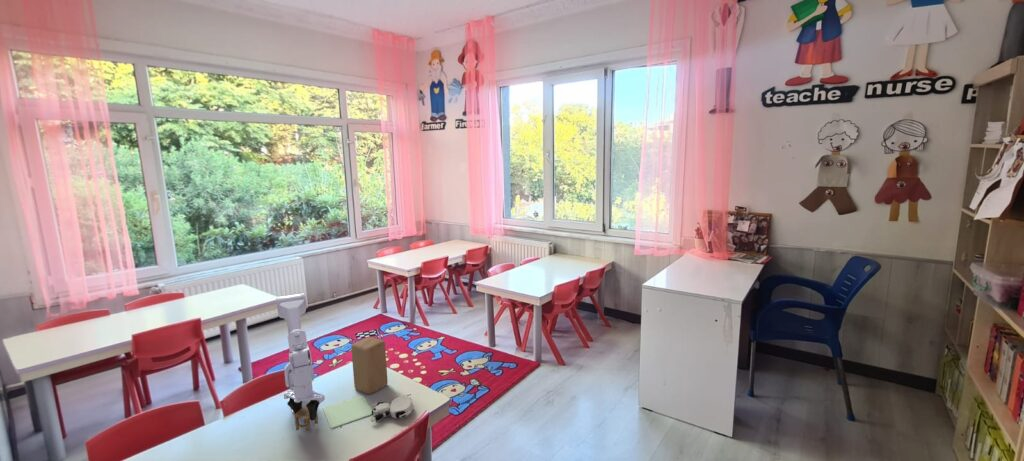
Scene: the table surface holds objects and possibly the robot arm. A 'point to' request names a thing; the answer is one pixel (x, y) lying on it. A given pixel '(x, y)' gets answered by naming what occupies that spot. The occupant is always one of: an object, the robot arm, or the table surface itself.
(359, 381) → the wooden block
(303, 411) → the brown handled box
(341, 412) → the sage mat
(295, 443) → the table surface
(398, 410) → the robot toy
